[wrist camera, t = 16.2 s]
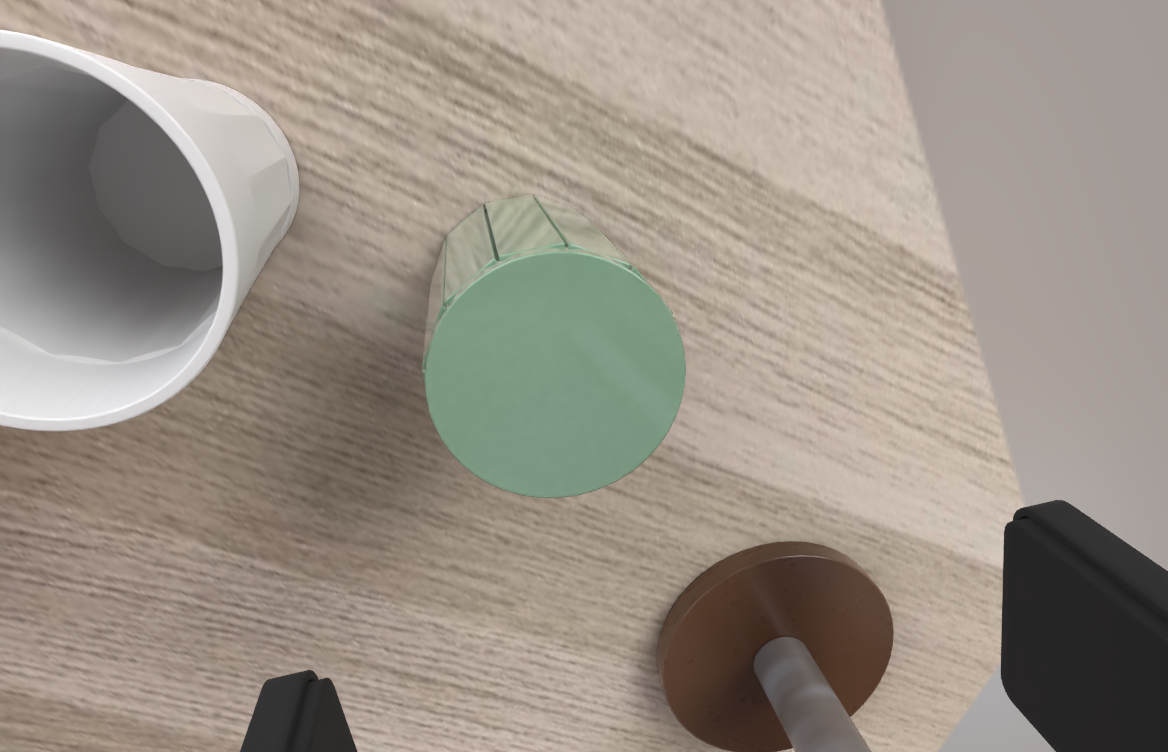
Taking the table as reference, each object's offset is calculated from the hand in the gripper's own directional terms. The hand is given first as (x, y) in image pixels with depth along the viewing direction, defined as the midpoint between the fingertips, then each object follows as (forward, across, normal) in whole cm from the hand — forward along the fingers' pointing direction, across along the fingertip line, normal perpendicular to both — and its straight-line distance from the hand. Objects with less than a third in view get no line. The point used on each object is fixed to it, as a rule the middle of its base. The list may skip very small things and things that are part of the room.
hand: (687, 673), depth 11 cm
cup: (+21, +11, -6) cm, 24 cm away
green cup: (+21, +1, 0) cm, 21 cm away
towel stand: (+21, -7, +18) cm, 29 cm away
